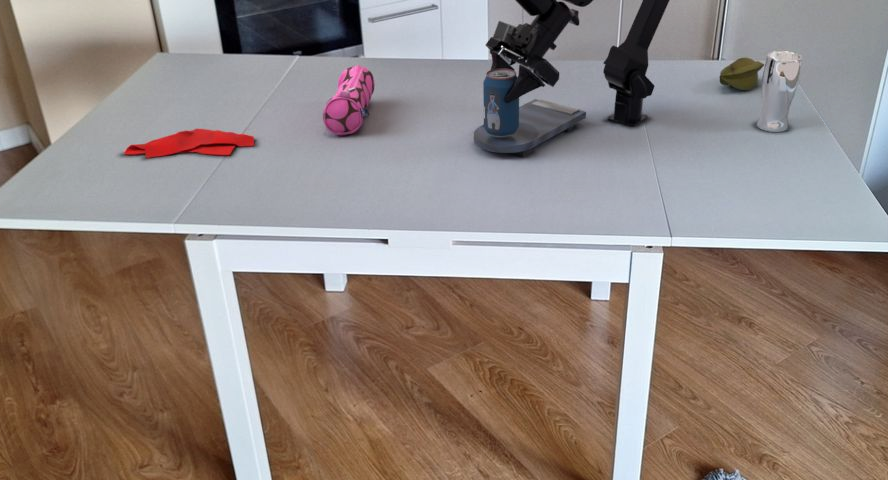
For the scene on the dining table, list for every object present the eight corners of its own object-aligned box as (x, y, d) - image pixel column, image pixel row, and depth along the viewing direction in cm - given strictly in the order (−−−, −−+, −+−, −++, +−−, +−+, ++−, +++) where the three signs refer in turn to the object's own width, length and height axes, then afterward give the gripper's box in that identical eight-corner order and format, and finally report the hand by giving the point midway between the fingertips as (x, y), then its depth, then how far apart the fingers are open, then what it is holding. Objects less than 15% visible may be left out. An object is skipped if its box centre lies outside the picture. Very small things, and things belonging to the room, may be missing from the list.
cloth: (261, 130, 193) (260, 120, 192) (248, 156, 181) (247, 146, 180) (141, 132, 194) (139, 122, 193) (120, 158, 182) (118, 148, 181)
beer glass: (749, 121, 190) (760, 51, 182) (781, 119, 190) (794, 49, 183) (762, 133, 184) (774, 62, 176) (795, 132, 185) (809, 60, 177)
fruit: (771, 94, 204) (776, 65, 200) (718, 95, 204) (722, 67, 200) (756, 77, 213) (761, 50, 210) (705, 78, 214) (709, 51, 210)
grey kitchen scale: (534, 111, 198) (535, 97, 196) (585, 125, 191) (586, 110, 189) (460, 149, 181) (460, 134, 180) (513, 165, 174) (513, 149, 172)
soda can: (517, 124, 182) (517, 66, 175) (520, 137, 176) (520, 78, 169) (483, 125, 182) (482, 67, 175) (484, 139, 176) (484, 79, 170)
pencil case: (370, 137, 188) (367, 91, 183) (324, 138, 188) (319, 92, 183) (379, 101, 206) (376, 58, 201) (337, 102, 207) (333, 59, 201)
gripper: (493, -6, 175) (445, 60, 176) (547, 16, 160) (494, 87, 162) (527, 28, 182) (480, 91, 183) (582, 51, 167) (531, 120, 169)
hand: (495, 96), depth 174 cm, fingers closed on soda can, 7 cm apart
